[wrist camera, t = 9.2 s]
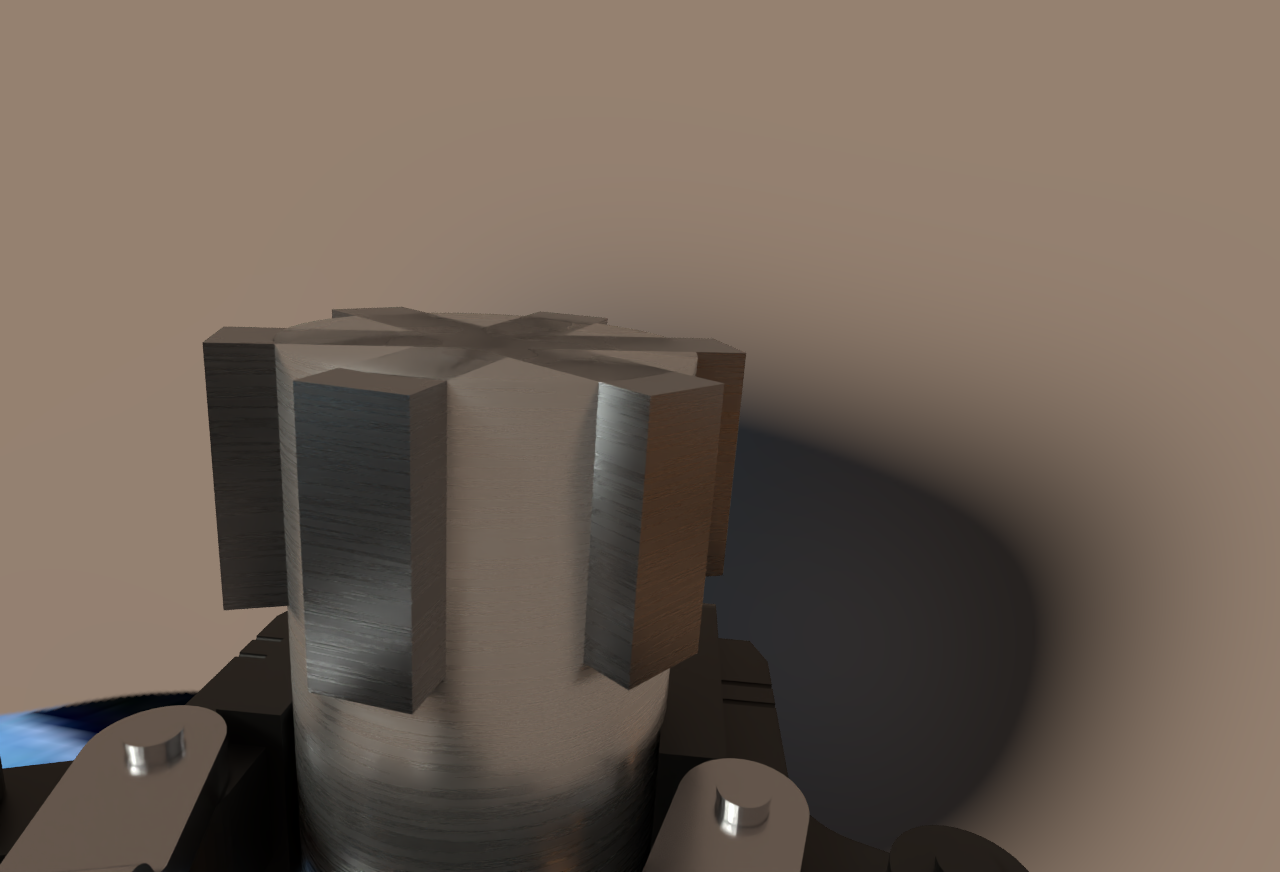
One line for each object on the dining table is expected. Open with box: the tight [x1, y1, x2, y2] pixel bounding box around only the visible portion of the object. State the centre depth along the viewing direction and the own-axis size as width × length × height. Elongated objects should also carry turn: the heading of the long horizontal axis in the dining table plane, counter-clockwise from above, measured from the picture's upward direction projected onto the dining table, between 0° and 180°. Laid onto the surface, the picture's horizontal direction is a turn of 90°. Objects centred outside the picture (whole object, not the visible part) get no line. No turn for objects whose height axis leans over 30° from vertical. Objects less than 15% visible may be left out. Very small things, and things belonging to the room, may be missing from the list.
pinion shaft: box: [203, 307, 746, 872], centre depth 9 cm, size 5×5×12 cm
